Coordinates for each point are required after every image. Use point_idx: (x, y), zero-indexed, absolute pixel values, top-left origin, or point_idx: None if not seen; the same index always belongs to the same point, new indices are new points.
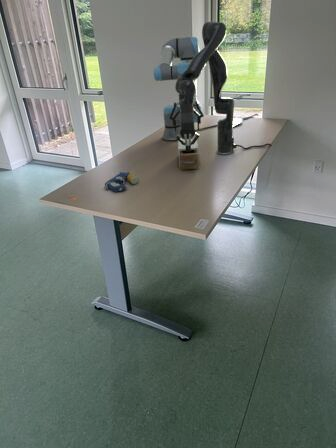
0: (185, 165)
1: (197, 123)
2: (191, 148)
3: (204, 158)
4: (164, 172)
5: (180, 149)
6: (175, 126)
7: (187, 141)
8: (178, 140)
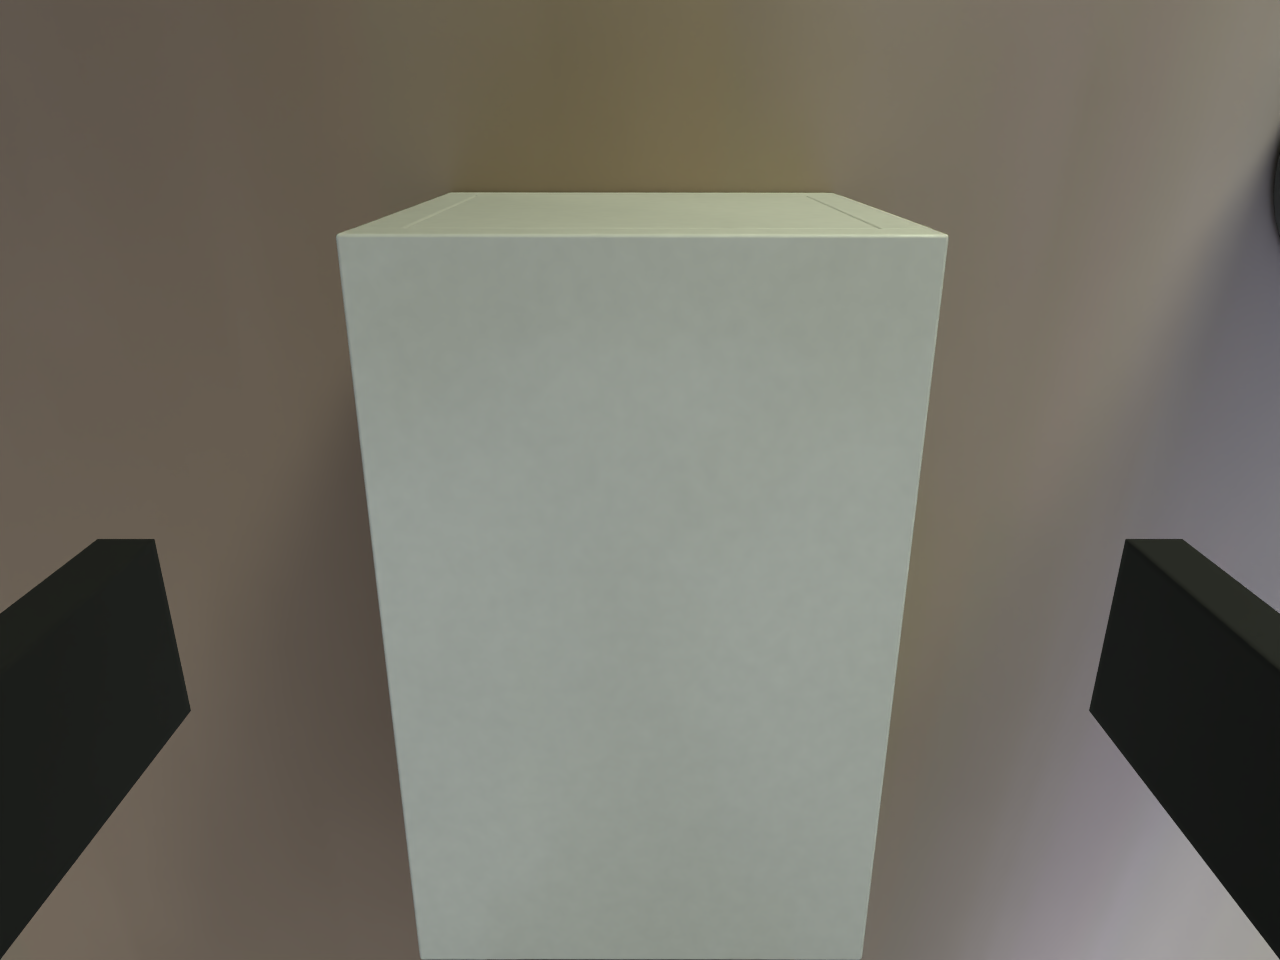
0: None
1: (1271, 697)
2: (712, 955)
3: (941, 419)
4: (281, 856)
5: (471, 949)
6: (40, 865)
7: (635, 515)
8: (357, 365)
